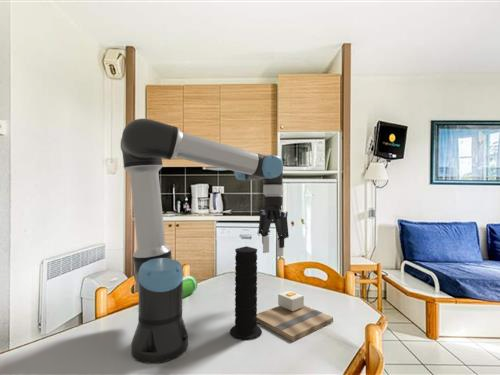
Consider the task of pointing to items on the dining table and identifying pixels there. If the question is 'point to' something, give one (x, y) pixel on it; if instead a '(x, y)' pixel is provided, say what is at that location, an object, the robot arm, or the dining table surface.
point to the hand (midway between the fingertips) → (272, 254)
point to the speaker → (188, 285)
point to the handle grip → (246, 295)
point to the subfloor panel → (293, 321)
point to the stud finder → (290, 300)
